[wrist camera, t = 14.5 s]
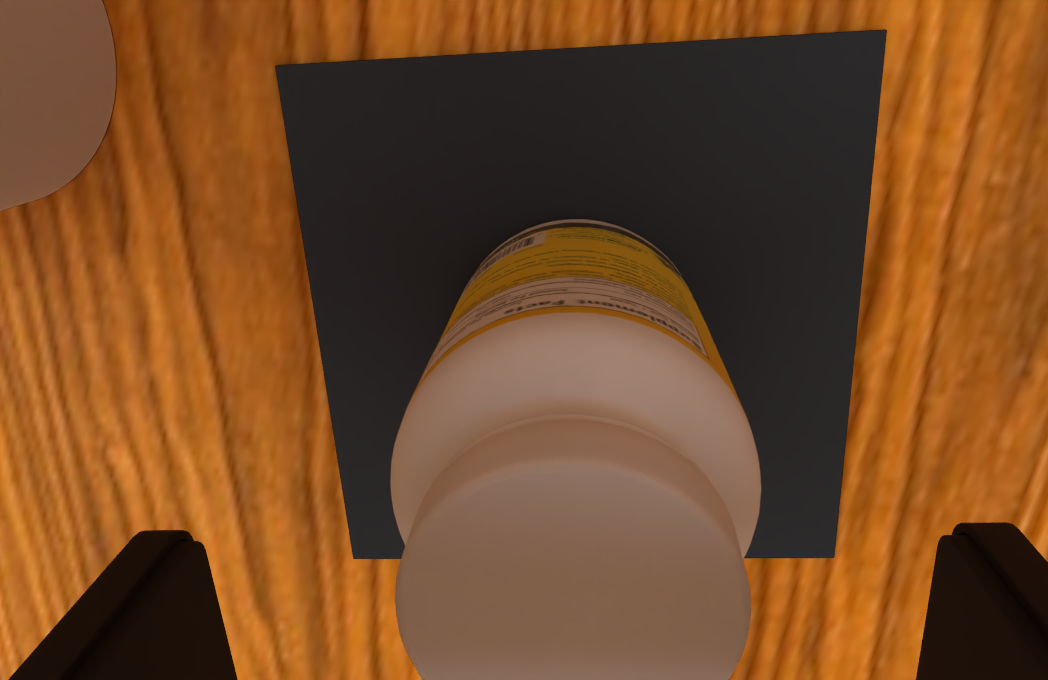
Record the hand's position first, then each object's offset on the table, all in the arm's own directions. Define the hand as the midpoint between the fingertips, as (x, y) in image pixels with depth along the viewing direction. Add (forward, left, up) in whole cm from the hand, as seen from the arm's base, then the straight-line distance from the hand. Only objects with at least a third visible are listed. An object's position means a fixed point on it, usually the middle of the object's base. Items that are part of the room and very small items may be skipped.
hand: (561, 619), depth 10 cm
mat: (0, 0, -11) cm, 11 cm away
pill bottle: (0, 0, -11) cm, 11 cm away
